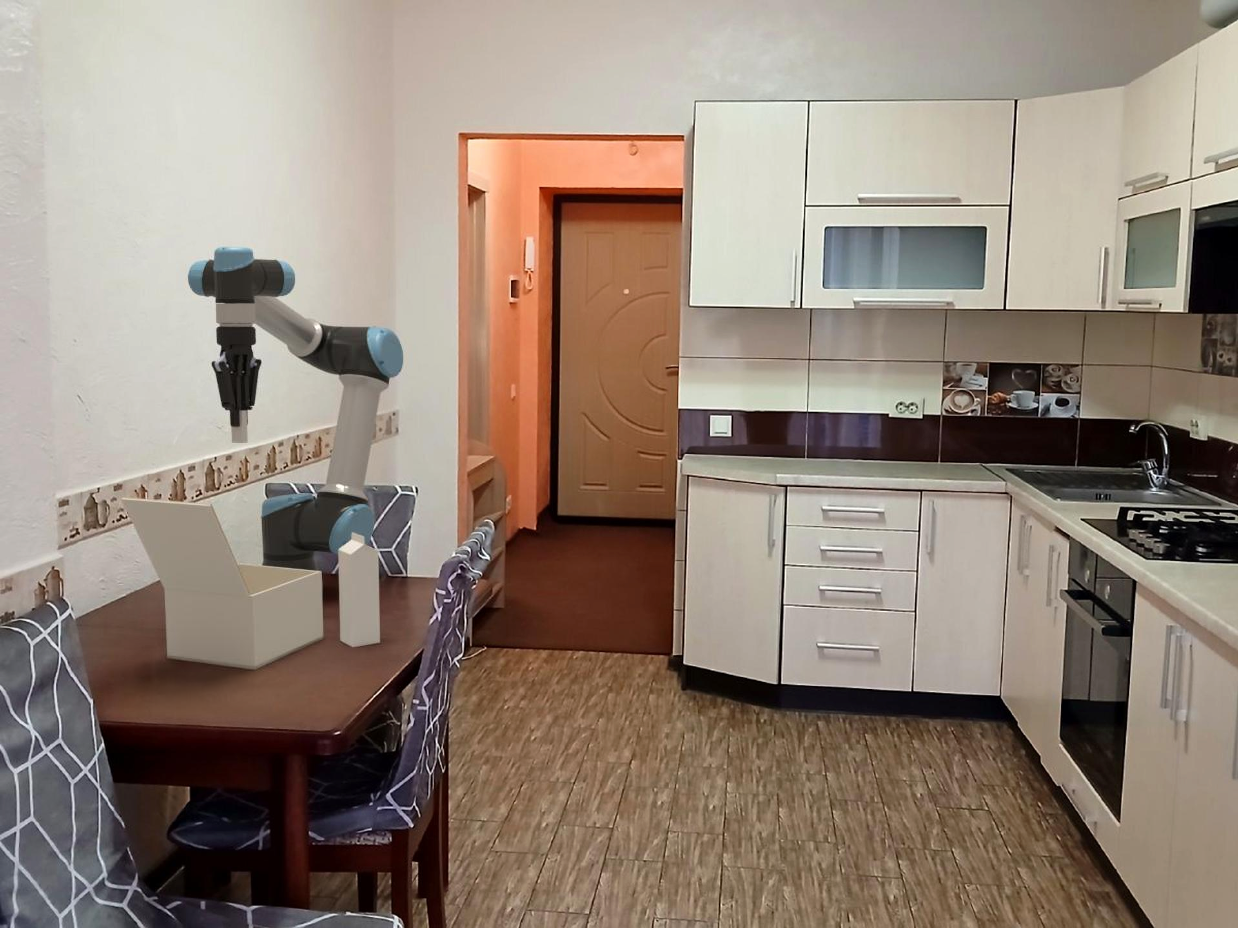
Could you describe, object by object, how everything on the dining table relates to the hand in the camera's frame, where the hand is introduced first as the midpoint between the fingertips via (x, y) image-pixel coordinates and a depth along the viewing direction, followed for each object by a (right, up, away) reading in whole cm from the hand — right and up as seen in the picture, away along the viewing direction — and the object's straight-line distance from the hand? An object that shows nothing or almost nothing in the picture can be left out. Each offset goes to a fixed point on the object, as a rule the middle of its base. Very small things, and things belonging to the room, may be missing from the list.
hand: (239, 442), depth 236 cm
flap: (-1, -19, -25) cm, 32 cm away
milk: (+25, -40, -2) cm, 47 cm away
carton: (+4, -41, -7) cm, 41 cm away
